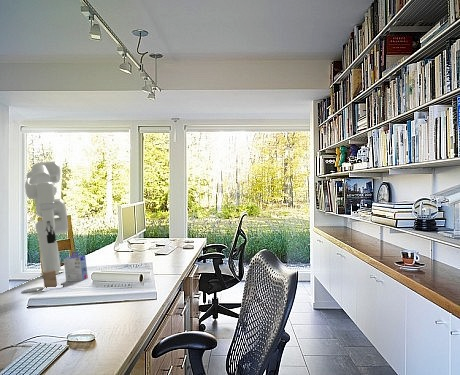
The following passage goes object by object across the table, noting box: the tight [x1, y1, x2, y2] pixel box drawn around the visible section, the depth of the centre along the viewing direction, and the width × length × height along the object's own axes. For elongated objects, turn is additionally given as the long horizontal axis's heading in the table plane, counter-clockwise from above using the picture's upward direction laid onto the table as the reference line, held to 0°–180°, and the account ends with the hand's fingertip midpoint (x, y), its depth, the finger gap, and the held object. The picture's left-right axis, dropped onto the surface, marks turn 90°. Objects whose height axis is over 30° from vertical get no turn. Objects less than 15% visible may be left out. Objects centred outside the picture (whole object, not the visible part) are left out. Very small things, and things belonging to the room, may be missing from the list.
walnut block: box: [42, 270, 58, 288], centre depth 225 cm, size 5×5×8 cm
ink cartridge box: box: [63, 251, 89, 283], centre depth 237 cm, size 10×6×14 cm, turn 78°
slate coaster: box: [20, 286, 44, 295], centre depth 223 cm, size 10×10×1 cm
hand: (51, 242), depth 224 cm, fingers open, 9 cm apart
